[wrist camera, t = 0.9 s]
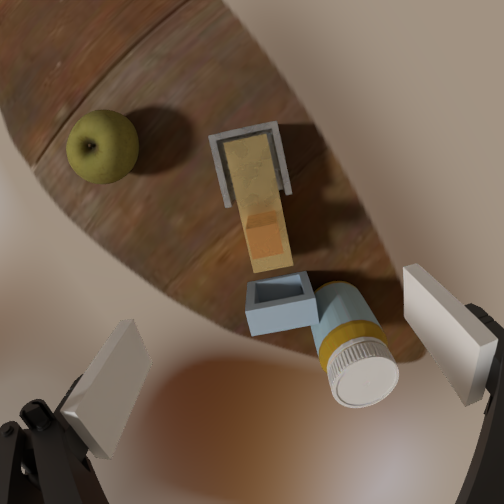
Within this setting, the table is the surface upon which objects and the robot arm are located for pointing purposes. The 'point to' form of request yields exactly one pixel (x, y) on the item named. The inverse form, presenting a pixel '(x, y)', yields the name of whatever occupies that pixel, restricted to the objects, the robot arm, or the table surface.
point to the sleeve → (242, 133)
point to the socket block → (280, 304)
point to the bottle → (352, 347)
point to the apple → (103, 147)
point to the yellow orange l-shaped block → (259, 202)
